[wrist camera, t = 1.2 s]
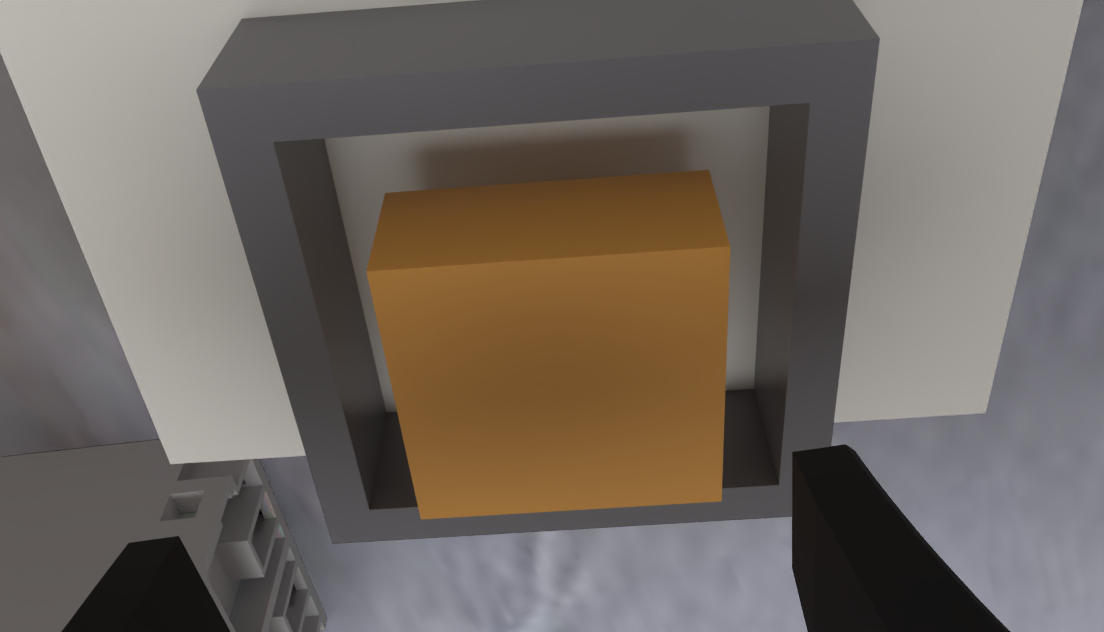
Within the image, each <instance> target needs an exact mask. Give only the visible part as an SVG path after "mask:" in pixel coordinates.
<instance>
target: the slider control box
mask: <svg viewBox="0 0 1104 632" xmlns="http://www.w3.org/2000/svg"><path fill="white" fill-rule="evenodd" d="M1083 1H1084V0H0V53H1V55H2V57H3V60H4V62H5V65H6V67H7V70H8V72H9V74H10V77H11V79H12V82H13V84H14V87H15V89H16V91H17V94H18V96H19V99H20V101H21V103H22V106H23V108H24V111H25V113H26V116H27V118H28V120H29V123H30V125H31V128H32V130H33V133H34V135H35V137H36V140H37V142H38V145H39V147H40V150H41V152H42V154H43V157H44V159H45V162H46V164H47V166H48V169H49V171H50V174H51V176H52V179H53V181H54V183H55V186H56V188H57V191H58V193H59V196H60V198H61V200H62V203H63V205H64V208H65V210H66V213H67V215H68V217H69V220H70V222H71V225H72V227H73V229H74V232H75V234H76V237H77V239H78V242H79V244H80V246H81V249H82V251H83V254H84V256H85V259H86V261H87V263H88V266H89V268H90V271H91V273H92V276H93V278H94V280H95V283H96V285H97V288H98V290H99V292H100V295H101V297H102V300H103V302H104V305H105V307H106V309H107V312H108V314H109V317H110V319H111V322H112V324H113V326H114V329H115V331H116V334H117V336H118V339H119V341H120V343H121V346H122V348H123V351H124V353H125V355H126V358H127V360H128V363H129V365H130V368H131V370H132V372H133V375H134V377H135V380H136V382H137V385H138V387H139V389H140V392H141V394H142V397H143V399H144V402H145V404H146V406H147V409H148V411H149V414H150V416H151V418H152V421H153V423H154V426H155V428H156V431H157V433H158V435H159V438H160V440H161V443H162V445H163V448H164V450H165V452H166V455H167V457H168V460H169V462H170V464H181V463H197V462H213V461H229V460H245V459H261V458H277V457H293V456H306V457H307V460H308V464H309V467H310V470H311V474H312V477H313V480H314V484H315V487H316V490H317V494H318V497H319V500H320V504H321V507H322V510H323V514H324V517H325V520H326V524H327V527H328V530H329V534H330V537H331V540H332V544H338V543H355V542H372V541H389V540H405V539H422V538H439V537H456V536H473V535H489V534H506V533H523V532H540V531H557V530H573V529H590V528H607V527H624V526H641V525H657V524H674V523H691V522H708V521H725V520H741V519H758V518H775V517H792V452H795V451H802V450H809V449H817V448H824V447H831V441H832V433H833V424H834V423H837V422H853V421H869V420H885V419H901V418H916V417H932V416H948V415H964V414H980V413H986V409H987V405H988V401H989V396H990V392H991V388H992V384H993V380H994V375H995V371H996V367H997V363H998V359H999V354H1000V350H1001V346H1002V342H1003V338H1004V333H1005V329H1006V325H1007V321H1008V317H1009V312H1010V308H1011V304H1012V300H1013V295H1014V291H1015V287H1016V283H1017V279H1018V274H1019V270H1020V266H1021V262H1022V258H1023V253H1024V249H1025V245H1026V241H1027V237H1028V232H1029V228H1030V224H1031V220H1032V215H1033V211H1034V207H1035V203H1036V199H1037V194H1038V190H1039V186H1040V182H1041V178H1042V173H1043V169H1044V165H1045V161H1046V157H1047V152H1048V148H1049V144H1050V140H1051V136H1052V131H1053V127H1054V123H1055V119H1056V114H1057V110H1058V106H1059V102H1060V98H1061V93H1062V89H1063V85H1064V81H1065V77H1066V72H1067V68H1068V64H1069V60H1070V56H1071V51H1072V47H1073V43H1074V39H1075V34H1076V30H1077V26H1078V22H1079V18H1080V13H1081V9H1082V5H1083ZM698 170H709V172H710V175H711V179H712V183H713V186H714V190H715V193H716V197H717V200H718V204H719V208H720V211H721V215H722V218H723V222H724V225H725V229H726V233H727V236H728V240H729V243H730V273H729V302H728V331H727V360H726V388H725V417H724V446H723V475H722V501H720V502H703V503H687V504H670V505H653V506H637V507H620V508H604V509H587V510H570V511H554V512H537V513H520V514H504V515H487V516H471V517H454V518H437V519H421V518H420V514H419V509H418V505H417V500H416V495H415V491H414V486H413V482H412V477H411V473H410V468H409V464H408V459H407V455H406V450H405V445H404V441H403V436H402V432H401V427H400V423H399V418H398V414H397V409H396V404H395V400H394V395H393V391H392V386H391V382H390V377H389V373H388V368H387V364H386V359H385V354H384V350H383V345H382V341H381V336H380V332H379V327H378V323H377V318H376V313H375V309H374V304H373V300H372V295H371V291H370V286H369V282H368V277H367V273H366V271H367V266H368V262H369V258H370V254H371V250H372V245H373V241H374V237H375V233H376V229H377V225H378V220H379V216H380V212H381V208H382V204H383V199H384V195H385V193H390V192H404V191H418V190H432V189H446V188H460V187H474V186H488V185H502V184H516V183H530V182H544V181H558V180H572V179H586V178H600V177H614V176H628V175H642V174H656V173H670V172H684V171H698Z"/></svg>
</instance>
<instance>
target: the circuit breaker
mask: <svg viewBox="0 0 1104 632" xmlns="http://www.w3.org/2000/svg"><path fill="white" fill-rule="evenodd" d="M259 510H261V512H262V514H263V515H260V516H258V514H259ZM174 536H179V537H180V539H181V541H182V543H183V545H184V546H185V548H186V550H187V552H188V554H189V556H190V558H191V559H192V561H193V563H194V565H195V567H196V569H197V570H198V572H199V574H200V576H201V578H202V580H203V582H204V583H205V585H206V587H207V589H208V591H209V593H210V595H211V596H212V598H213V600H214V602H215V604H216V606H217V607H218V609H219V611H220V613H221V615H222V617H223V619H224V620H225V622H226V624H227V626H228V628H229V630H230V632H319V631H320V630H325V627H326V622H327V617H326V614H325V612H324V610H323V607H322V605H321V603H320V600H319V598H318V596H317V593H316V591H315V589H314V586H313V584H312V582H311V579H310V577H309V575H308V572H307V570H306V568H305V565H304V563H303V561H302V558H301V556H300V554H299V551H298V549H297V547H296V544H295V542H294V540H293V537H292V535H291V533H290V530H289V528H288V526H287V523H286V521H285V519H284V516H283V514H282V512H281V509H280V507H279V504H278V502H277V500H276V497H275V495H274V493H273V490H272V488H271V486H270V483H269V481H268V479H267V476H266V474H265V472H264V469H263V467H262V465H261V462H260V460H259V459H245V460H229V461H213V462H197V463H181V464H170V462H169V460H168V457H167V455H166V452H165V450H164V448H163V445H162V443H161V440H160V439H159V440H150V441H141V442H132V443H123V444H114V445H105V446H97V447H88V448H79V449H70V450H61V451H52V452H43V453H34V454H25V455H16V456H7V457H0V632H61V631H62V630H63V629H64V627H65V626H66V625H67V623H68V622H69V621H70V619H71V618H72V617H73V615H74V614H75V613H76V611H77V610H78V609H79V607H80V606H81V605H82V603H83V602H84V601H85V599H86V598H87V597H88V595H89V594H90V593H91V591H92V590H93V589H94V587H95V586H96V585H97V584H98V582H99V581H100V580H101V578H102V577H103V576H104V574H105V573H106V572H107V570H108V569H109V568H110V566H111V565H112V564H113V562H114V561H115V560H116V558H117V557H118V556H119V555H120V553H121V552H122V551H123V549H124V548H125V547H126V546H127V544H128V543H131V542H138V541H145V540H153V539H160V538H167V537H174Z"/></svg>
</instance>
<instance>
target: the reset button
mask: <svg viewBox="0 0 1104 632" xmlns="http://www.w3.org/2000/svg"><path fill="white" fill-rule="evenodd" d="M366 273H367V277H368V282H369V286H370V291H371V295H372V300H373V304H374V309H375V313H376V318H377V323H378V327H379V332H380V336H381V341H382V345H383V350H384V354H385V359H386V364H387V368H388V373H389V377H390V382H391V386H392V391H393V395H394V400H395V404H396V409H397V414H398V418H399V423H400V427H401V432H402V436H403V441H404V445H405V450H406V455H407V459H408V464H409V468H410V473H411V477H412V482H413V486H414V491H415V495H416V500H417V505H418V509H419V514H420V518H421V519H437V518H454V517H471V516H487V515H504V514H520V513H537V512H554V511H570V510H587V509H604V508H620V507H637V506H653V505H670V504H687V503H703V502H720V501H722V475H723V446H724V417H725V388H726V360H727V331H728V302H729V273H730V243H729V240H728V236H727V233H726V229H725V225H724V222H723V218H722V215H721V211H720V208H719V204H718V200H717V197H716V193H715V190H714V186H713V183H712V179H711V175H710V172H709V170H698V171H684V172H670V173H656V174H642V175H628V176H614V177H600V178H586V179H572V180H558V181H544V182H530V183H516V184H502V185H488V186H474V187H460V188H446V189H432V190H418V191H404V192H390V193H385V195H384V199H383V204H382V208H381V212H380V216H379V220H378V225H377V229H376V233H375V237H374V241H373V245H372V250H371V254H370V258H369V262H368V266H367V271H366Z"/></svg>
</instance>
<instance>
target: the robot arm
mask: <svg viewBox="0 0 1104 632" xmlns="http://www.w3.org/2000/svg"><path fill="white" fill-rule="evenodd" d="M792 569H793V573H794V577H795V581H796V585H797V589H798V594H799V598H800V602H801V606H802V610H803V614H804V618H805V622H806V626H807V630H808V632H1010V631H1009V630H1008V629H1007V628H1006V627H1005V626H1004V625H1003V624H1002V623H1001V622H1000V621H999V620H998V619H997V618H996V617H995V616H994V615H993V614H992V613H991V612H990V611H989V610H988V609H987V607H986V606H985V605H984V604H983V603H982V602H981V601H980V600H979V599H978V598H977V597H976V596H975V595H974V594H973V593H972V591H971V590H970V589H969V588H968V587H967V586H966V585H965V584H964V583H963V582H962V581H961V579H960V578H959V577H958V576H957V575H956V574H955V573H954V572H953V571H952V570H951V569H950V567H949V566H948V565H947V564H946V563H945V562H944V561H943V560H942V559H941V558H940V557H939V555H938V554H937V553H936V552H935V551H934V550H933V548H932V547H931V546H930V545H929V544H928V543H927V542H926V540H925V539H924V538H923V537H922V536H921V535H920V533H919V532H918V531H917V530H916V529H915V527H914V526H913V525H912V524H911V523H910V521H909V520H908V519H907V518H906V517H905V515H904V514H903V513H902V512H901V511H900V509H899V508H898V507H897V506H896V504H895V503H894V502H893V501H892V499H891V498H890V497H889V496H888V494H887V493H886V492H885V491H884V489H883V488H882V487H881V485H880V484H879V483H878V482H877V480H876V479H875V478H874V476H873V475H872V474H871V472H870V471H869V470H868V468H867V467H866V466H865V464H864V463H863V461H862V460H861V459H860V457H859V456H858V454H857V453H856V452H855V451H854V450H853V449H852V448H850V447H849V446H847V445H838V446H831V447H824V448H817V449H809V450H802V451H795V452H792ZM61 632H230V630H229V628H228V626H227V624H226V622H225V620H224V619H223V617H222V615H221V613H220V611H219V609H218V607H217V606H216V604H215V602H214V600H213V598H212V596H211V595H210V593H209V591H208V589H207V587H206V585H205V583H204V582H203V580H202V578H201V576H200V574H199V572H198V570H197V569H196V567H195V565H194V563H193V561H192V559H191V558H190V556H189V554H188V552H187V550H186V548H185V546H184V545H183V543H182V541H181V539H180V537H179V536H174V537H167V538H160V539H153V540H145V541H138V542H131V543H128V544H127V546H126V547H125V548H124V549H123V551H122V552H121V553H120V555H119V556H118V557H117V558H116V560H115V561H114V562H113V564H112V565H111V566H110V568H109V569H108V570H107V572H106V573H105V574H104V576H103V577H102V578H101V580H100V581H99V582H98V584H97V585H96V586H95V587H94V589H93V590H92V591H91V593H90V594H89V595H88V597H87V598H86V599H85V601H84V602H83V603H82V605H81V606H80V607H79V609H78V610H77V611H76V613H75V614H74V615H73V617H72V618H71V619H70V621H69V622H68V623H67V625H66V626H65V627H64V629H63V630H62V631H61Z"/></svg>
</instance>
